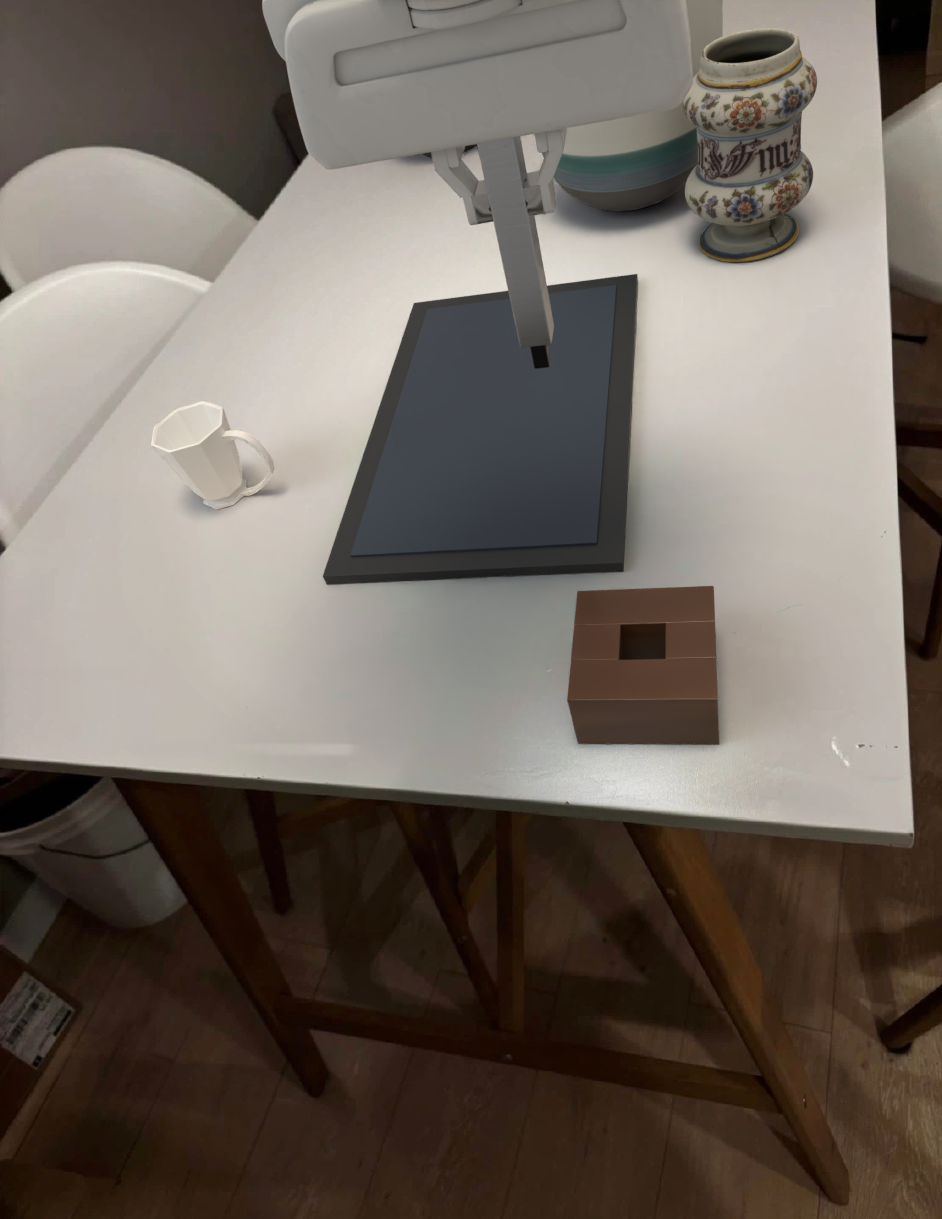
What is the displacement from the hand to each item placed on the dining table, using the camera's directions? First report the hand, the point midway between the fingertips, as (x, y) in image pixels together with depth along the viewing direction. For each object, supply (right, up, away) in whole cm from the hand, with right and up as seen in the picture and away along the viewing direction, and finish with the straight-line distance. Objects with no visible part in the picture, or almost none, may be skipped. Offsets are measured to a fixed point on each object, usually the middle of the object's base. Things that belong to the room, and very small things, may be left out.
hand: (513, 214), depth 50 cm
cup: (-24, -12, +33) cm, 42 cm away
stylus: (+2, -6, +8) cm, 10 cm away
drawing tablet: (0, -5, +32) cm, 32 cm away
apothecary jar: (+26, +16, +42) cm, 52 cm away
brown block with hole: (+9, -28, +9) cm, 30 cm away
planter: (+16, +26, +53) cm, 61 cm away
